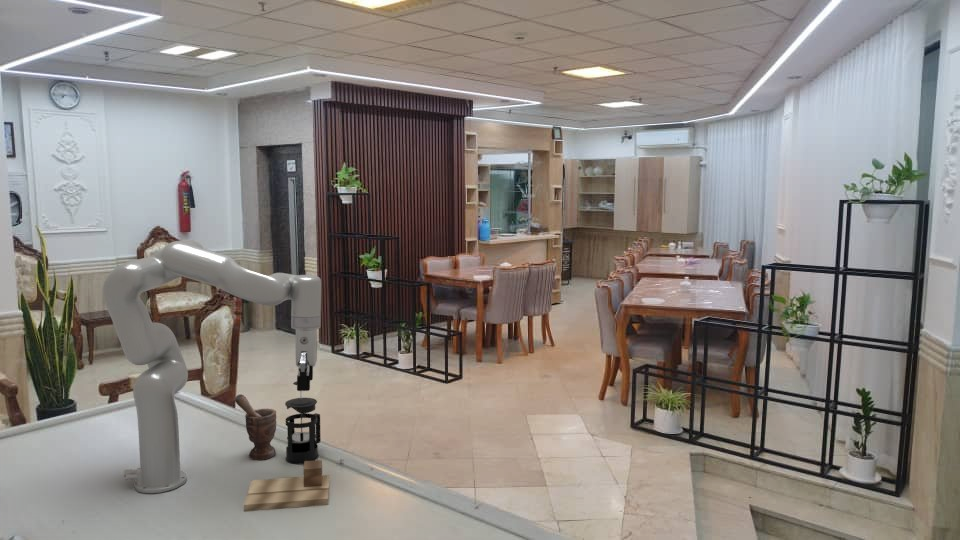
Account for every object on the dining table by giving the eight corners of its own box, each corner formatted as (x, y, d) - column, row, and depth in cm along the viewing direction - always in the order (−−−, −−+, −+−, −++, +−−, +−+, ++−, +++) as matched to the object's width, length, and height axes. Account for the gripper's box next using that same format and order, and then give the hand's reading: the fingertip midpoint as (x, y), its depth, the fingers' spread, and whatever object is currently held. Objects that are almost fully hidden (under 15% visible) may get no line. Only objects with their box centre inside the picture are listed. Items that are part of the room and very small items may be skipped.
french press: (298, 467, 188) (296, 388, 185) (276, 459, 193) (275, 383, 190) (329, 454, 197) (328, 379, 195) (308, 447, 203) (306, 374, 200)
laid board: (244, 511, 162) (243, 504, 162) (247, 500, 167) (247, 494, 167) (328, 504, 166) (327, 498, 165) (328, 494, 171) (328, 488, 171)
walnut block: (303, 487, 171) (303, 469, 170) (304, 478, 176) (304, 461, 175) (321, 485, 172) (321, 468, 171) (322, 477, 177) (321, 460, 176)
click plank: (247, 499, 168) (247, 493, 168) (251, 485, 174) (251, 480, 174) (328, 493, 172) (328, 487, 171) (329, 480, 178) (329, 474, 178)
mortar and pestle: (256, 467, 188) (254, 398, 185) (232, 462, 191) (230, 395, 189) (283, 452, 198) (281, 388, 196) (260, 448, 202) (258, 384, 199)
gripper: (318, 328, 167) (317, 394, 169) (322, 316, 184) (321, 376, 186) (287, 328, 166) (286, 395, 167) (294, 315, 183) (293, 376, 184)
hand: (305, 385), depth 177 cm, fingers open, 9 cm apart
